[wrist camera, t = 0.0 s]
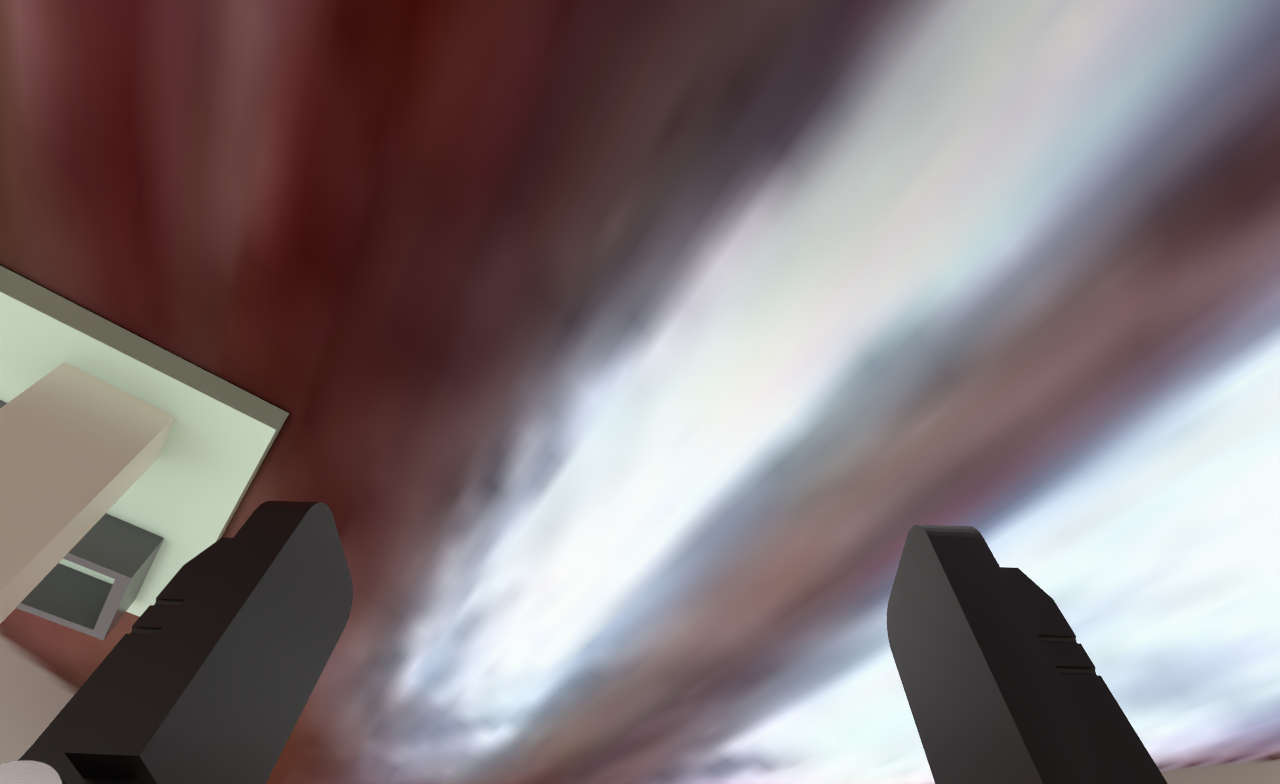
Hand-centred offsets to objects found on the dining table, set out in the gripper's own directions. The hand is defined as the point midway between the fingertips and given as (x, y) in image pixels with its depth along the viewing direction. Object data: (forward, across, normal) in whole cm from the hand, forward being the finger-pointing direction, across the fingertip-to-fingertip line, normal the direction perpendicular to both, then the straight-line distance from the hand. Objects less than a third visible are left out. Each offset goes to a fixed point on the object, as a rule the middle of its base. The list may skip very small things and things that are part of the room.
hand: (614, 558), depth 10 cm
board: (+18, +26, +14) cm, 35 cm away
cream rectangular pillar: (+17, +23, +9) cm, 30 cm away
